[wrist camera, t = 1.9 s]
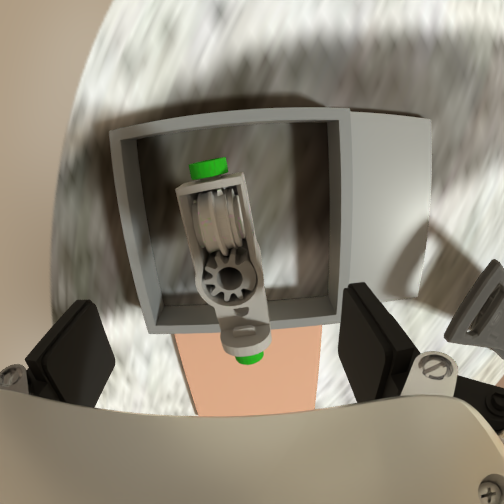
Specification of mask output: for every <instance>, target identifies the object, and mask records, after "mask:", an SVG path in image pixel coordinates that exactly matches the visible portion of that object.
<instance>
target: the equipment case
mask: <svg viewBox="0 0 504 504" xmlns="http://www.w3.org/2000/svg"><path fill="white" fill-rule="evenodd" d="M301 122H327V132H328V152H329V186H330V243H329V277H328V296H320V297H309V298H298V299H286V300H273V301H267V305H268V312H269V319H270V327H271V330H273V329H285V328H296V327H307V326H317V325H326V324H335V323H341V311H342V298H343V290H344V288H348V285H349V284H350V283H359V282H365V283H366V284H367V286H368V287H369V288H370V289H371V291H372V292H373V293H374V294H375V296H376V297H377V298H378V299H379V301H380V302H388V301H395V300H402V299H408V298H415V297H418V292H419V287H420V281H421V276H422V270H423V263H424V256H425V249H426V241H427V233H428V223H429V212H430V198H431V177H432V133H431V119H425V118H418V117H410V116H401V115H391V114H380V113H367V112H350V108H328V107H290V108H264V109H248V110H235V111H224V112H214V113H206V114H198V115H190V116H183V117H177V118H170V119H164V120H159V121H153V122H148V123H143V124H138V125H133V126H128V127H123V128H119V129H115V130H110V131H109V139H110V148H111V157H112V166H113V173H114V181H115V188H116V194H117V200H118V206H119V212H120V218H121V223H122V228H123V234H124V239H125V243H126V248H127V253H128V257H129V262H130V266H131V270H132V274H133V279H134V283H135V287H136V290H137V294H138V298H139V302H140V305H141V309H142V313H143V316H144V320H145V323H146V326H147V330H148V333H149V334H192V333H221V329H220V326H219V322H218V319H217V315H216V311H215V308H214V307H213V306H211V305H209V304H208V305H185V306H164V302H163V298H162V293H161V289H160V284H159V280H158V275H157V271H156V266H155V261H154V256H153V251H152V245H151V240H150V234H149V229H148V223H147V217H146V211H145V204H144V198H143V191H142V184H141V176H140V168H139V160H138V151H137V141H136V139H142V138H147V137H153V136H159V135H165V134H171V133H178V132H185V131H192V130H200V129H209V128H218V127H228V126H240V125H253V124H270V123H301Z"/></svg>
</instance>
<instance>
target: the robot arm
mask: <svg viewBox="0 0 504 504" xmlns="http://www.w3.org/2000/svg"><path fill="white" fill-rule="evenodd" d="M338 354H339V358H340V360H341V363H342V365H343V368H344V370H345V373H346V375H347V378H348V380H349V383H350V385H351V388H352V391H353V393H354V396H355V398H356V401H357V403H354V404H347V405H341V406H335V407H329V408H322V409H314V410H306V411H297V412H288V413H277V414H264V415H247V416H173V415H156V414H143V413H132V412H123V411H114V410H107V409H100V408H94V407H95V405H96V403H97V401H98V399H99V397H100V395H101V393H102V391H103V389H104V386H105V384H106V382H107V380H108V378H109V376H110V374H111V372H112V370H113V368H114V366H115V357H114V354H113V352H112V349H111V347H110V344H109V341H108V339H107V336H106V333H105V331H104V328H103V325H102V322H101V319H100V316H99V313H98V310H97V307H96V305H95V304H94V303H92V301H91V300H76V301H75V302H74V303H73V304H72V305H71V307H70V308H69V309H68V310H67V311H66V312H65V313H64V314H63V315H62V316H61V317H60V319H59V320H58V321H57V322H56V323H55V324H54V325H53V326H52V328H51V329H50V330H49V331H48V332H47V333H46V334H45V336H44V337H43V338H42V339H41V341H39V343H38V344H37V345H36V346H35V348H34V349H33V350H32V351H31V352H30V354H29V355H28V356H27V357H26V358H25V361H26V363H27V365H28V367H29V368H28V370H26V369H25V367H24V366H23V365H20V364H14V365H10V366H8V367H6V368H5V369H3V370H2V371H1V372H0V504H504V388H501V387H497V386H494V385H490V384H486V383H483V382H479V381H476V380H472V379H469V378H465V377H462V376H459V375H458V366H457V364H456V362H455V361H454V360H453V359H452V358H451V357H450V356H448V355H447V354H444V353H441V352H436V351H429V352H424V353H420V352H419V351H418V349H417V348H416V346H415V345H414V344H413V342H412V341H411V340H410V338H409V337H408V336H407V334H406V333H405V332H404V330H403V329H402V328H401V326H400V325H399V324H398V322H397V321H396V320H395V318H394V317H393V316H392V315H391V314H389V312H388V311H387V310H386V308H385V307H384V306H383V305H382V303H381V302H380V301H379V299H378V298H377V297H376V296H375V294H374V293H373V292H372V291H371V289H370V288H369V287H368V286H367V284H366V283H365V282H359V283H350V284H349V285H348V288H344V290H343V298H342V311H341V323H340V333H339V343H338Z"/></svg>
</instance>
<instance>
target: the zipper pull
mask: <svg viewBox="0 0 504 504" xmlns="http://www.w3.org/2000/svg"><path fill="white" fill-rule="evenodd" d="M472 321H473V323H472ZM471 323H472V325H471ZM470 325H471V329H472V331H470V332H467V330H468V328H469V327H470ZM444 338H445V339H446V340H447V342H451V343H457V344H463V345H473V346H480V347H487V348H492V349H493V350H494V351H495V352H496V353H497V354H498V355H499V356H500V357H501V358H502V359H504V268H503V267H502V265H501V264H500V262H498V261H497V260H495V259H493V260H492V261H491V262H490V263H489V265H488V266H487V267H486V268H485V270H484V271H483V272H482V274H481V275H480V277H479V278H478V280H477V281H476V282H475V284H474V285H473V287H472V288H471V290H470V291H469V293H468V294H467V296H466V298H465V299H464V301H463V302H462V304H461V305H460V307H459V309H458V310H457V312H456V314H455V315H454V317H453V318H452V320H451V322H450V324H449V326H448V328H447V330H446V331H445V333H444Z"/></svg>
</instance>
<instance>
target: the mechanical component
mask: <svg viewBox="0 0 504 504" xmlns="http://www.w3.org/2000/svg"><path fill="white" fill-rule="evenodd" d="M189 169H190V174H191V178H192V180H195V179H200V180H197V181H192V182H188V183H184V184H182V185H181V186H179V187H178V188H176V189H175V190H176V195H177V199H178V204H179V208H180V212H181V216H182V221H183V225H184V229H185V233H186V237H187V241H188V245H189V249H190V253H191V257H192V260H193V264H194V268H195V272H196V276H195V283H196V287H197V290H198V292H199V294H200V296H201V297H202V298H203V299H204V301H206V302H207V303H208V304H209V305H211V306H213V307H214V308H215V311H216V315H217V319H218V322H219V326H220V329H221V334H220V339H221V343H222V346H223V349H224V351H225V352H226V353H227V354H229V355H232V356H235V358H236V361H237V362H238V363H240V364H243V365H251V364H255V363H257V362H259V361H260V360H261V359H262V358H263V356H264V352H263V351H264V350H265V349H267V348H268V347H269V345H270V344H271V341H272V336H271V327H270V319H269V312H268V305H267V299H266V293H265V287H264V279H263V269H262V259H261V251H260V247H259V244H258V242H257V240H256V235H255V230H254V224H253V219H252V214H251V208H250V202H249V197H248V191H247V186H246V181H245V176H244V173H243V172H239V173H233V174H228V175H222V176H221V174H224V173H227V172H228V168H227V162H226V157H222V158H216V159H211V160H206V161H201V162H197V163H193V164H190V165H189Z"/></svg>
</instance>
